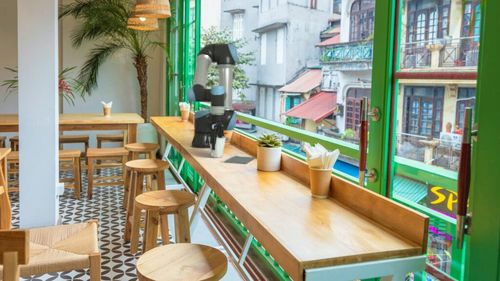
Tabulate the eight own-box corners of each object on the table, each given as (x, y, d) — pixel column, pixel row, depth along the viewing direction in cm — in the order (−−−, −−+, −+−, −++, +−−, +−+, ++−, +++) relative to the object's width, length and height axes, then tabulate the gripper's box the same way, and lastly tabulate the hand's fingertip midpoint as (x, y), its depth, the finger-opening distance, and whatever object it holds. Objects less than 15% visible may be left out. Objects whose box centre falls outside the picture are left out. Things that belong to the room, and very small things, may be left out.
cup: (227, 155, 259) (227, 136, 258) (224, 158, 249) (224, 138, 248) (210, 155, 260) (210, 136, 259) (206, 158, 250) (206, 138, 249)
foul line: (231, 156, 258) (231, 155, 257) (234, 156, 257) (234, 155, 257) (220, 161, 240) (220, 160, 240) (223, 162, 240) (223, 160, 240)
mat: (234, 156, 256) (234, 156, 256) (255, 158, 253) (255, 157, 253) (223, 162, 239) (223, 161, 239) (245, 164, 236) (245, 163, 236)
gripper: (216, 115, 240) (216, 157, 243) (230, 112, 261) (229, 151, 264) (203, 115, 242) (203, 157, 245) (218, 112, 263) (217, 151, 266)
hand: (217, 154), depth 254 cm, fingers closed on cup, 9 cm apart
